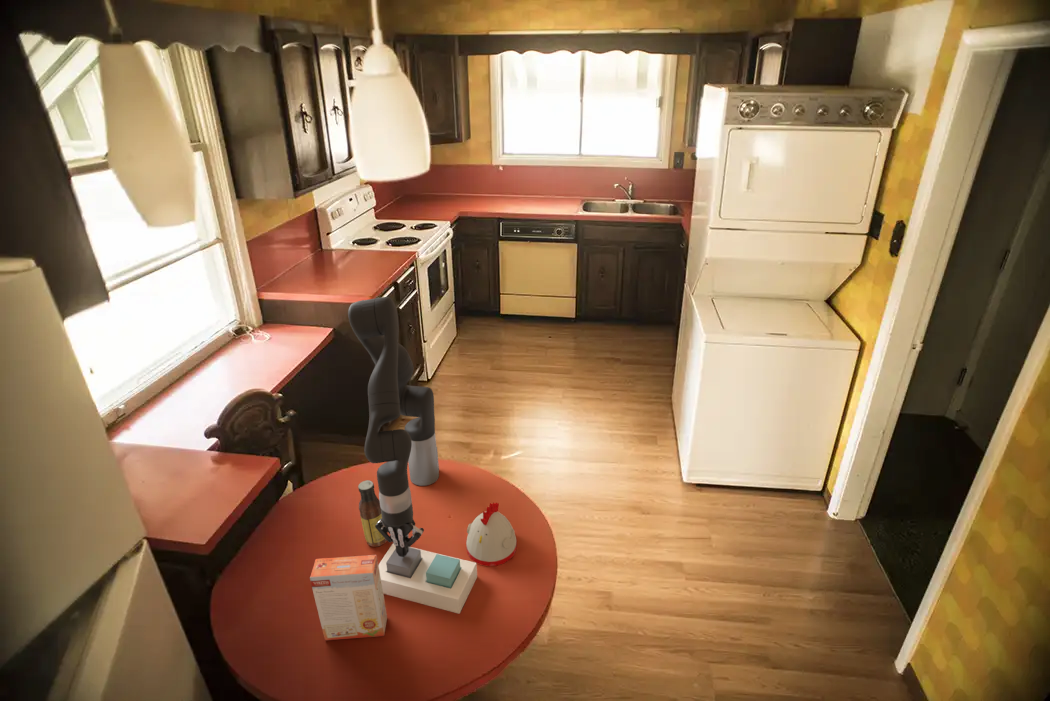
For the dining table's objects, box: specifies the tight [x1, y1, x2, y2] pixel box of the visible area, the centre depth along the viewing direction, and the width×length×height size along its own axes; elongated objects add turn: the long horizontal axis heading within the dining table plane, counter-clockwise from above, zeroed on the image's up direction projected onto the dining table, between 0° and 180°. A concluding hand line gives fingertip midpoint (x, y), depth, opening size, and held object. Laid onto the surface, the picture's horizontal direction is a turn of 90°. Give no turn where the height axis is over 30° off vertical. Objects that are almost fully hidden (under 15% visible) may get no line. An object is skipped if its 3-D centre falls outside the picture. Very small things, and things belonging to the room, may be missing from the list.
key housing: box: [378, 542, 478, 614], centre depth 154 cm, size 12×24×5 cm, turn 73°
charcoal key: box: [386, 546, 422, 578], centre depth 154 cm, size 6×6×4 cm
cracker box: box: [309, 554, 388, 641], centre depth 138 cm, size 14×6×21 cm, turn 94°
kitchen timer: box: [465, 502, 518, 567], centre depth 163 cm, size 14×14×15 cm
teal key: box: [426, 553, 461, 589], centre depth 151 cm, size 6×6×4 cm
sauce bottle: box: [357, 479, 389, 548], centre depth 164 cm, size 7×6×20 cm
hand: (402, 554), depth 152 cm, fingers closed
